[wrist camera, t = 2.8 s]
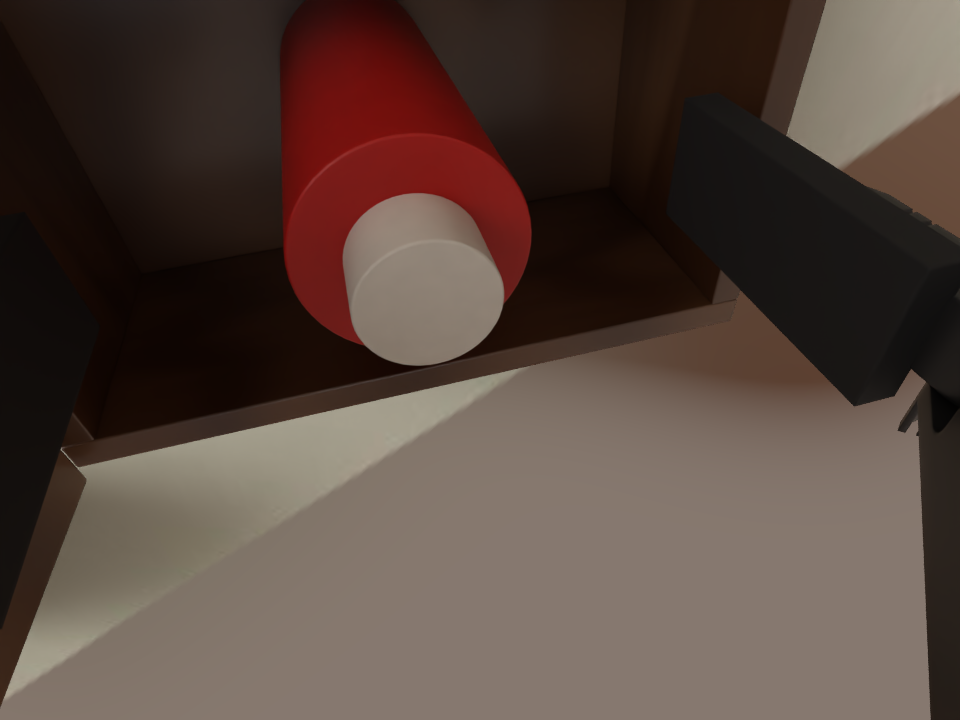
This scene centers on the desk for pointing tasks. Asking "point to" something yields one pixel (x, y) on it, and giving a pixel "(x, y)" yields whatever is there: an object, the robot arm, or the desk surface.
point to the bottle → (391, 188)
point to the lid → (39, 563)
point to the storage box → (258, 190)
